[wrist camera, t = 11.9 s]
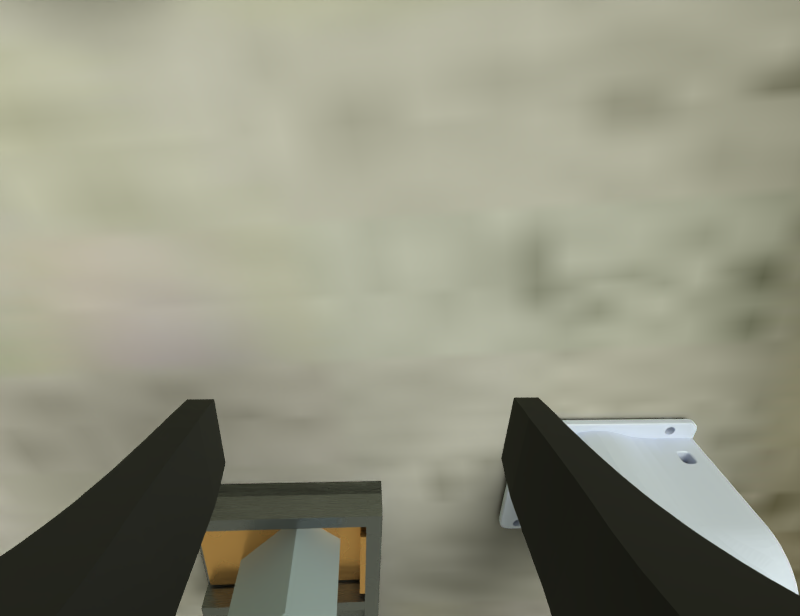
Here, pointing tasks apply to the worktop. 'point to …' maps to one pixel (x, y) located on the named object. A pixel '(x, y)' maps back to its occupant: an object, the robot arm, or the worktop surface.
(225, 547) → the tray
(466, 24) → the worktop surface
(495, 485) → the worktop surface
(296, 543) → the pale blue block
